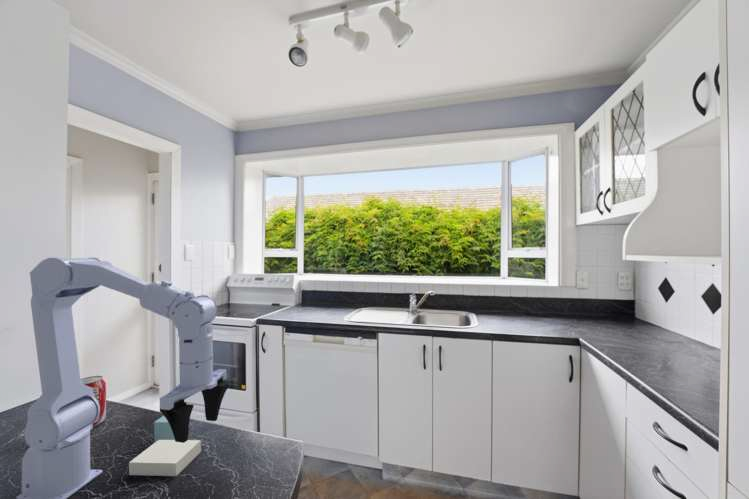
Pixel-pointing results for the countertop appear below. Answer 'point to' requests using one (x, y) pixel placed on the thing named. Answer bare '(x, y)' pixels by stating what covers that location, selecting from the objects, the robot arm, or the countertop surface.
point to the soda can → (97, 394)
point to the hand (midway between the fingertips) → (197, 430)
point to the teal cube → (162, 430)
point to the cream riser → (165, 458)
